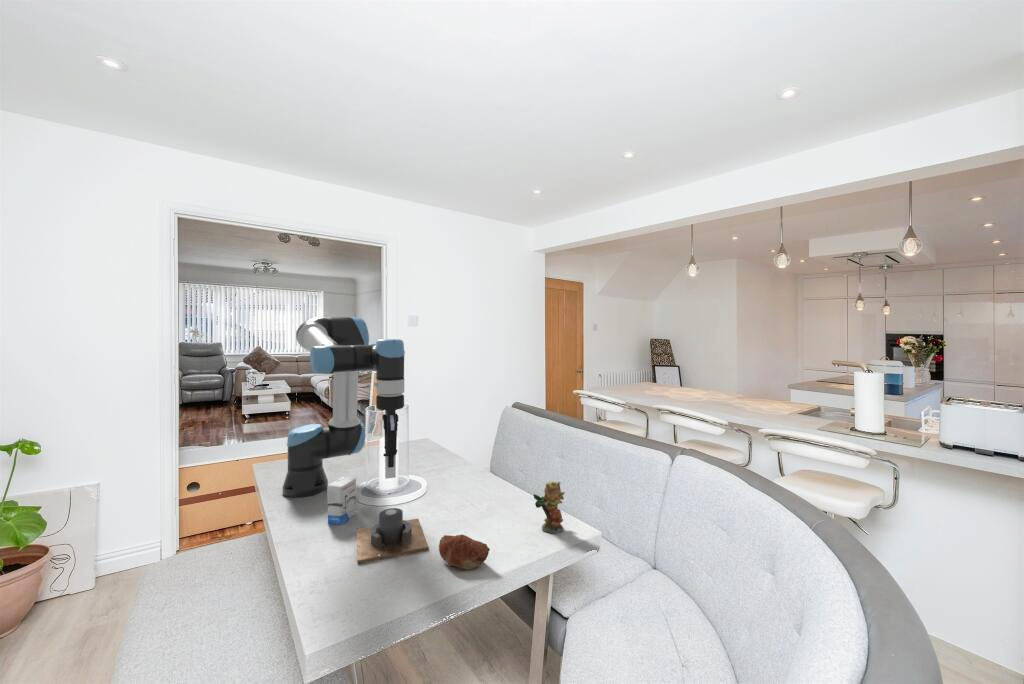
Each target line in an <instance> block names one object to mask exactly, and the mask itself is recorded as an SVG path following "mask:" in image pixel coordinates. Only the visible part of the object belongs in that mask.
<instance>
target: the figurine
mask: <svg viewBox="0 0 1024 684" xmlns="http://www.w3.org/2000/svg"><path fill="white" fill-rule="evenodd" d="M561 484H562V483H561V482H560V481H558V482H557V481H553V480H549V481H548V482H547V483H545V488H544V490H543V491H544V495H543V496H541V497H540V496H539V495H537V494H533V498H534V500H536V501H535V503H534V505H535V507H536V508H537V509H539V508H541V509H542V510H543V512H544V514H545V516H546V517H545V519H544V523H542V525H541V530H542V532H545V533H548V534H557V533H561V532H564V526H563V525H562V524H561V523H563V522H564V519H563V516H562V511H561V509H559V508H558V505H559V504H563V501H562V500H565V498H564V495H565V494H566V492H565V491H561Z"/></svg>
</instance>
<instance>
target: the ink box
mask: <svg viewBox="0 0 1024 684" xmlns="http://www.w3.org/2000/svg"><path fill="white" fill-rule="evenodd" d="M326 490H327V491H326V493H327V497H326V498H327V523H328V524H332V525H333V524H334V525H335V524H336V525H342V524H344V523H345V522H346V521H348V520H349V519H350V518H352V517H353V516H354V515H356V514H357V478H356V477H349V476H342V477H340V478H338V479H336V480H334V481H333V482H331V483H328V486H327V488H326Z"/></svg>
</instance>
